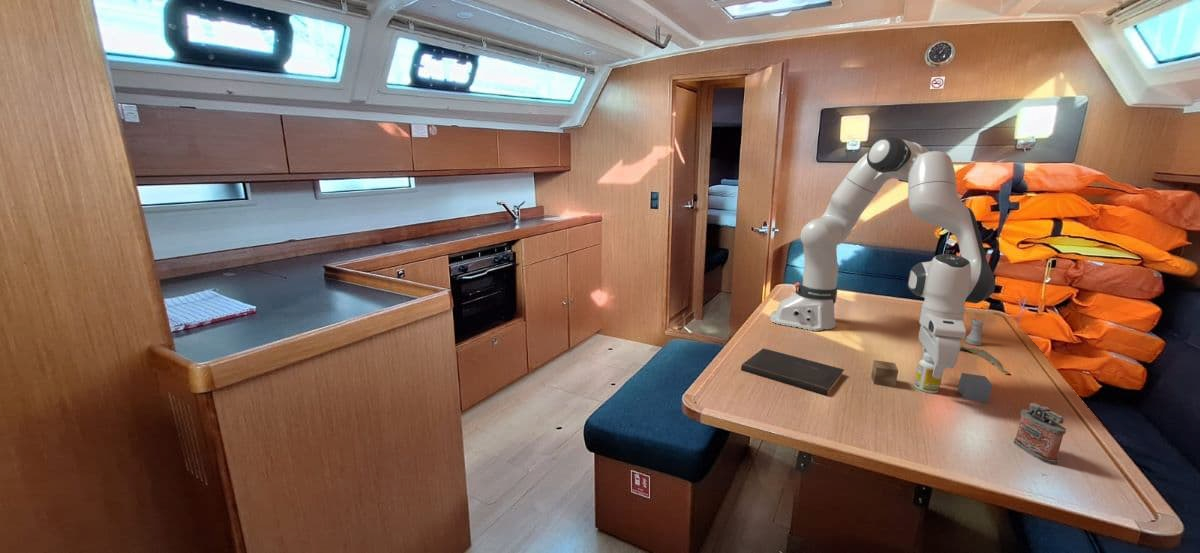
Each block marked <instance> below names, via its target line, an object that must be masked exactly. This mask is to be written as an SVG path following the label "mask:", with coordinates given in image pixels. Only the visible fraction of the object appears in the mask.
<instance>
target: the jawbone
mask: <svg viewBox="0 0 1200 553" xmlns="http://www.w3.org/2000/svg"><path fill="white" fill-rule="evenodd" d="M964 350H965V351H968V352H970V353H972V354H974V355H977V356H980V357H981V358H983V359H985V360H987V361H989V363H990V364H991V365H994V366H995V368H997V367H998V368H997V369H998V371H1001V372H1002V373H1003V374H1004V373H1005V375H1006V376H1008V375H1009V376H1012V374H1011V373H1010V372H1008V371H1007V370H1005V369H1004V368H1003V365H1002V362H1000V360H998V359H997V358H995V357H994V356H993V355H991V354H990V353H988V352H987V351H986V350H984V349H979V348H976V347H965V346H962V345H961V347H960V351H964Z"/></svg>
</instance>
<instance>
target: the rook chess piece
mask: <svg viewBox="0 0 1200 553" xmlns="http://www.w3.org/2000/svg"><path fill="white" fill-rule="evenodd" d="M970 323H971V324H972V325H971V330H970V331H969V332H970V333H969V334H968V335H967V336H965V340H964V342H965V343H966V342H967V344H968V345H971V344H972V345H971V346H977V345H979V346H981V345H982V344H983V343H982V342H983V339H982V336H981V331H982V330H983V328H982V327H983V326H984V325H985V323H984V320H982V319H979V318H978V319H976V318H975V319H974V318H973V320H972V321H971V322H970Z"/></svg>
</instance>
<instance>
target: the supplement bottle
mask: <svg viewBox="0 0 1200 553" xmlns="http://www.w3.org/2000/svg"><path fill="white" fill-rule="evenodd" d="M934 366H935V365H934V361H933V360H932V358H931V357H930V355H929V354H928V352H925V353H924V356H923V357H922V359H920V360H919V361H918V365H917V371H916V377H915V380H914V387H915V388H916V389H917V390H919V391H921V392H924V393H928V394H936V393H938V392H940V391H939V390H940V387H941V383H942V378H943V376H942V377H941V379H937V378H933V376H932V369H934ZM943 374H944V372H943V373H942V375H943Z"/></svg>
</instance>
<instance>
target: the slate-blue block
mask: <svg viewBox="0 0 1200 553" xmlns="http://www.w3.org/2000/svg"><path fill="white" fill-rule="evenodd" d="M992 389H993V383H992V382H991V381H990V380H989V379H988V378H987V377H986V375H980V374H979V375H977V374H971V373H965V372H961V374H960V380H959V383H958V388H957V391H958V392H959V394H960V395H961V397H962V398H963V400H969V401H973V402H974V401H976V402H980V403H981V402H982V403H989V402H990V396H991V393H992Z"/></svg>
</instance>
